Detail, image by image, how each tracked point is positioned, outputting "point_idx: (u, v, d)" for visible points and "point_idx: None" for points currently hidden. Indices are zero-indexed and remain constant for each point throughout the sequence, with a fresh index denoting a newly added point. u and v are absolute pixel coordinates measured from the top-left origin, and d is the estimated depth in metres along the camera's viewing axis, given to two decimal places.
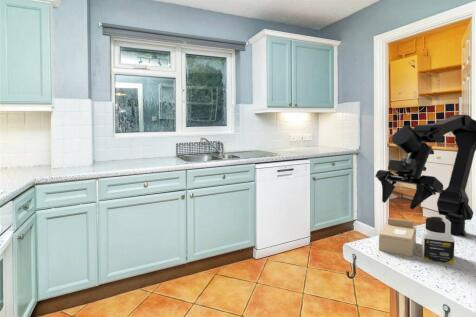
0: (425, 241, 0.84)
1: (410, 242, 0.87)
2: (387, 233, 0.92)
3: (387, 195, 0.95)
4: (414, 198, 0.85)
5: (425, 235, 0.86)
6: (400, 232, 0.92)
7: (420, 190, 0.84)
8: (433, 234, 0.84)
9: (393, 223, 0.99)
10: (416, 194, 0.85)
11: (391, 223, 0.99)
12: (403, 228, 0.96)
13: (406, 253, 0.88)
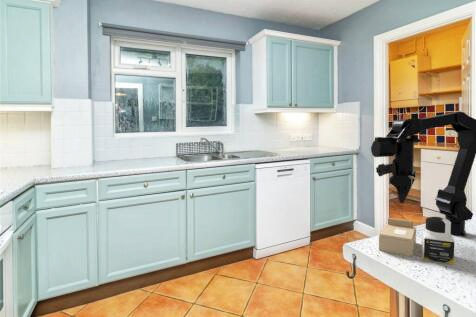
0: (425, 241, 0.84)
1: (410, 242, 0.87)
2: (387, 233, 0.92)
3: None
4: (398, 194, 0.99)
5: (425, 235, 0.86)
6: (400, 232, 0.92)
7: None
8: (433, 234, 0.84)
9: (393, 223, 0.99)
10: (397, 190, 0.99)
11: (391, 223, 0.99)
12: (403, 228, 0.96)
13: (406, 253, 0.88)
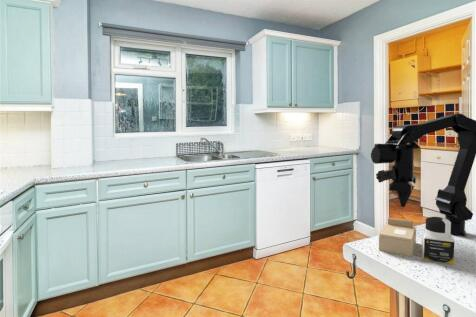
0: (425, 241, 0.84)
1: (410, 242, 0.87)
2: (387, 233, 0.92)
3: None
4: (399, 198, 1.02)
5: (425, 235, 0.86)
6: (400, 232, 0.92)
7: None
8: (433, 234, 0.84)
9: (393, 223, 0.99)
10: None
11: (391, 223, 0.99)
12: (403, 228, 0.96)
13: (406, 253, 0.88)
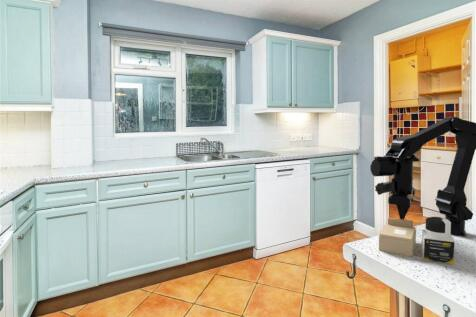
0: (425, 241, 0.84)
1: (410, 242, 0.87)
2: (387, 233, 0.92)
3: None
4: (398, 211, 1.02)
5: (425, 235, 0.86)
6: (400, 232, 0.92)
7: None
8: (433, 234, 0.84)
9: (393, 223, 0.99)
10: None
11: (391, 223, 0.99)
12: (403, 228, 0.96)
13: (406, 253, 0.88)
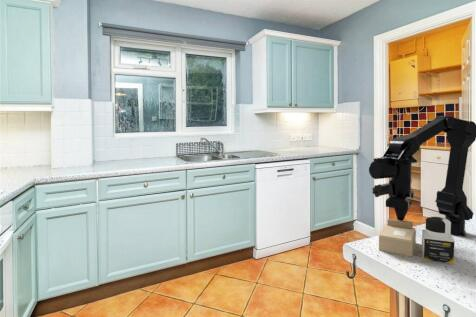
0: (425, 241, 0.84)
1: (410, 242, 0.87)
2: (386, 234, 0.91)
3: None
4: (396, 214, 0.98)
5: (425, 235, 0.86)
6: (399, 233, 0.91)
7: None
8: (433, 234, 0.84)
9: (392, 224, 0.98)
10: None
11: (391, 224, 0.98)
12: (402, 229, 0.95)
13: (406, 253, 0.88)
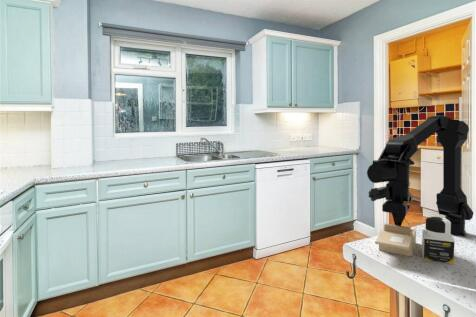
0: (425, 241, 0.84)
1: None
2: (383, 241, 0.86)
3: None
4: None
5: (425, 235, 0.86)
6: (397, 239, 0.86)
7: None
8: (433, 234, 0.84)
9: (389, 229, 0.93)
10: None
11: (388, 229, 0.93)
12: (400, 235, 0.90)
13: (406, 253, 0.88)
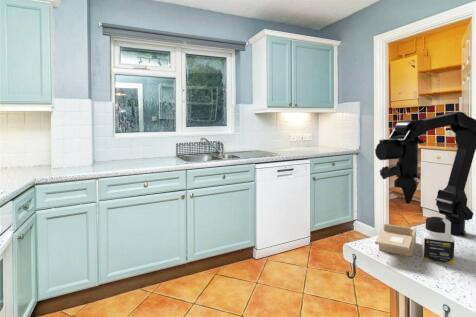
0: (425, 241, 0.84)
1: None
2: (383, 241, 0.86)
3: None
4: (404, 195, 1.00)
5: (425, 235, 0.86)
6: (396, 240, 0.86)
7: None
8: (433, 234, 0.84)
9: (389, 229, 0.93)
10: (403, 191, 1.00)
11: (388, 229, 0.93)
12: (400, 235, 0.90)
13: (406, 253, 0.88)
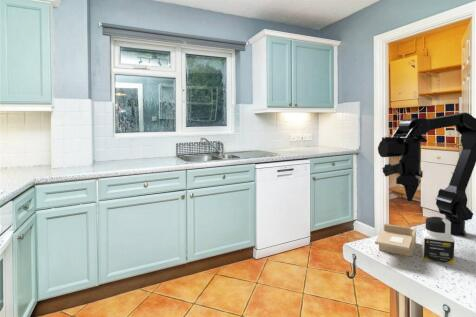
0: (425, 241, 0.84)
1: None
2: (383, 241, 0.86)
3: None
4: (406, 192, 1.01)
5: (425, 235, 0.86)
6: (396, 240, 0.86)
7: None
8: (433, 234, 0.84)
9: (389, 229, 0.93)
10: (405, 189, 1.01)
11: (388, 229, 0.93)
12: (400, 235, 0.90)
13: (406, 253, 0.88)
